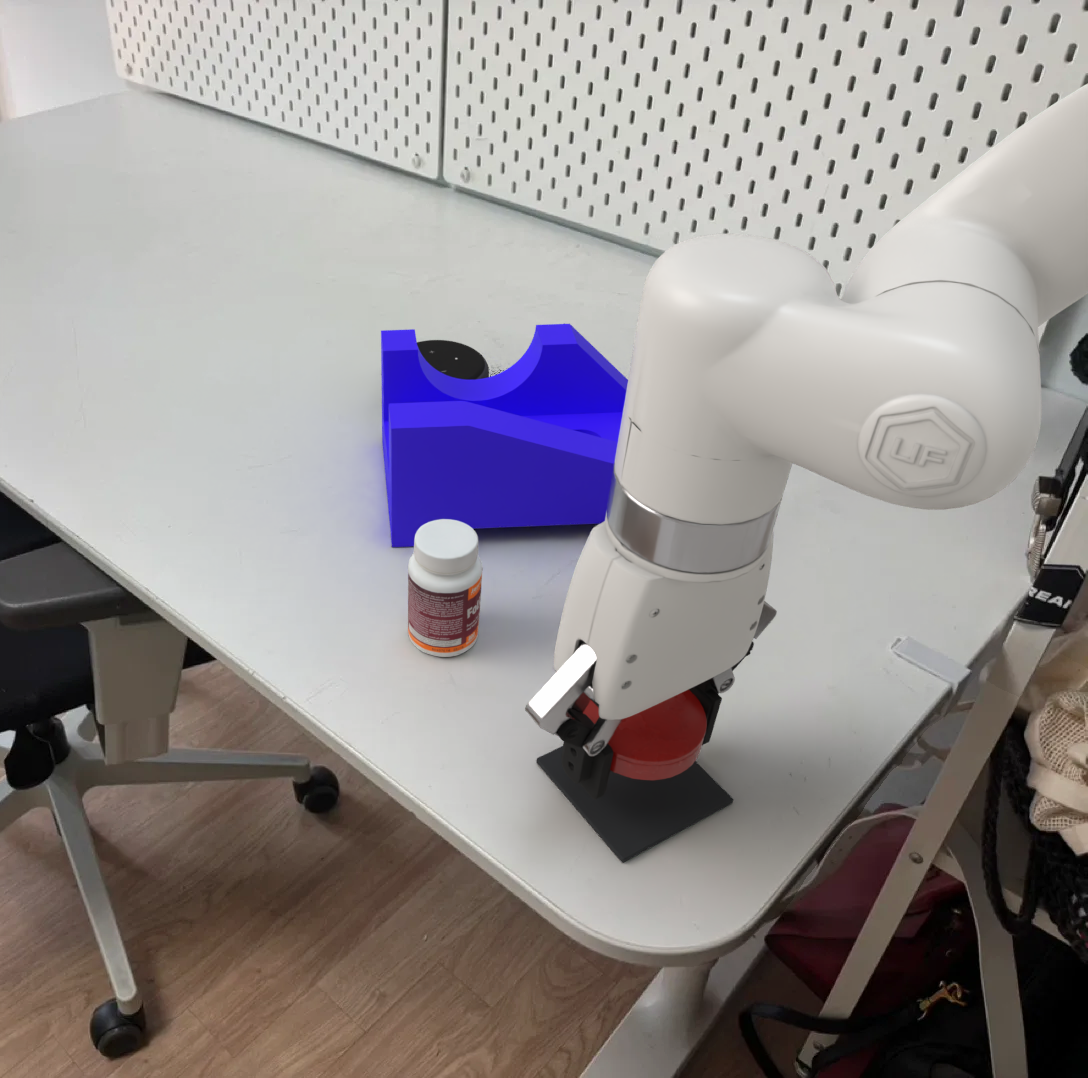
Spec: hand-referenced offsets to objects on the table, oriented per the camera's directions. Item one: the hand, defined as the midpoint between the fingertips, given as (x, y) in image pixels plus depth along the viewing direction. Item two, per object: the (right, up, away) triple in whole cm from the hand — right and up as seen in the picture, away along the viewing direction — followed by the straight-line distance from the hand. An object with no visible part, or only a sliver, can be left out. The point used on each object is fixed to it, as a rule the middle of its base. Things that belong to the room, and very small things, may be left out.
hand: (635, 751), depth 62 cm
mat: (0, -2, +2) cm, 3 cm away
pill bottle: (-10, +6, +12) cm, 16 cm away
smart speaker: (-9, +24, +34) cm, 43 cm away
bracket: (-3, +16, +24) cm, 29 cm away
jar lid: (0, +2, -2) cm, 3 cm away
